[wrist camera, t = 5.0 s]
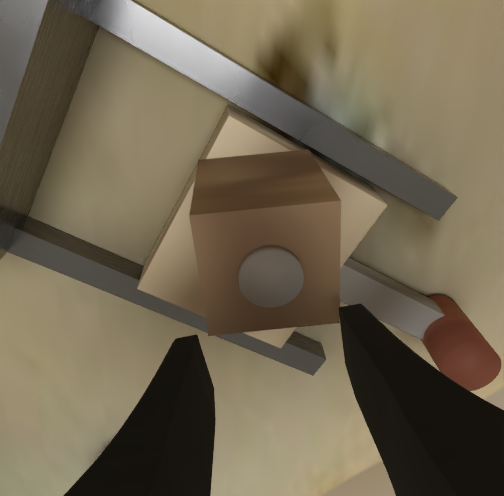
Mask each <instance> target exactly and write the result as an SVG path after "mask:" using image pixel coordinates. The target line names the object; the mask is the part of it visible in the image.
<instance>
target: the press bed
mask: <svg viewBox="0 0 504 496" xmlns="http://www.w3.org/2000/svg"><path fill="white" fill-rule="evenodd" d="M296 150H306V149H304V148H303V147H301V146H299V145H297V144H296V143H294V142H292V141H290V140H289V139H287V138H285V137H283V136H282V135H280V134H278V133H276V132H275V131H273V130H271V129H269V128H268V127H266V126H264V125H262V124H260V123H259V122H257V121H255V120H253V119H252V118H250V117H248V116H246V115H245V114H243V113H241V112H239V111H238V110H236V109H234V108H232V107H231V106H229V105H228V107H227V108H226V110H225V112H224V114H223V116H222V118H221V120H220V122H219V124H218V126H217V127H216V129H215V131H214V133H213V135H212V137H211V139H210V141H209V143H208V145H207V146H206V148H205V150H204V152H203V154H202V156H201V158H200V160H202V159H212V158H223V157H233V156H244V155H254V154H265V153H275V152H286V151H296ZM311 154H312V155H313V157H314V159H315V160H316V162H317V163H318V165H319V166H320V168H321V170H322V171H323V173H324V174H325V176H326V178H327V179H328V181H329V182H330V184H331V185H332V187H333V189H334V190H335V192H336V193H337V195H338V196H339V198H340V200H341V243H340V301H341V302H343V303H345V304H348V305H355V304H360V303H361V304H362V305H364V306H365V307H366V308H367V309H368V310H369V311H370V312H371V313H372V314H373V315H374V316H375V317H376V318H377V319H379V320H382V321H384V322H386V323H388V324H390V325H392V326H394V327H396V328H399V329H401V330H403V331H405V332H407V333H409V334H411V335H413V336H416V337H418V338H420V339H421V341H422V342H423V344H424V346H425V347H426V349H427V350H428V352H429V354H430V355H431V357H432V359H433V360H434V362H435V364H436V365H437V367H438V369H439V370H440V372H441V373H443V374H444V375H446V376H447V377H448V378H450V379H451V380H453V381H454V382H456V383H457V384H459V385H461V386H462V387H464V388H465V389H467V390H468V391H473V390H477V389H480V388H482V387H484V386H486V385H488V384H489V383H490V382H492V381H493V380H494V379H495V378H496V376H497V375H498V374H499V372H500V369H501V359H500V357H499V356H498V354H497V353H496V352H495V351H494V349H493V348H492V347H491V346H490V345H489V343H488V342H487V341H486V340H485V338H484V337H483V336H482V335H481V333H480V332H479V331H478V330H477V328H476V327H475V326H474V325H473V323H472V322H471V321H470V320H469V318H468V317H467V316H466V315H465V313H464V312H463V311H462V310H461V309H460V307H459V306H458V305H457V304H456V302H455V301H454V300H453V299H452V298H450V297H448V296H444V295H435V296H431V297H426V296H424V295H422V294H420V293H418V292H416V291H414V290H412V289H410V288H408V287H406V286H404V285H402V284H400V283H398V282H396V281H394V280H392V279H390V278H388V277H386V276H384V275H382V274H380V273H378V272H376V271H374V270H372V269H370V268H368V267H366V266H364V265H362V264H360V263H358V262H356V261H355V260H353V259H351V258H349V256H350V255H351V254H352V252H353V251H354V250H355V248H356V247H357V246H358V244H359V243H360V242H361V240H362V239H363V238H364V236H365V235H366V233H367V232H368V231H369V229H370V228H371V227H372V225H373V224H374V223H375V221H376V220H377V219H378V217H379V216H380V215H381V213H382V212H383V211H384V209H385V208H386V207H387V204H386V203H385V201H384V200H383V199H382V198H381V197H380V196H379V194H378V193H377V192H376V191H375V190H374V189H373V187H371V186H369V185H367V184H366V183H364V182H362V181H360V180H359V179H357V178H355V177H353V176H352V175H350V174H348V173H346V172H345V171H343V170H341V169H339V168H338V167H336V166H334V165H332V164H331V163H329V162H327V161H325V160H324V159H322V158H320V157H318V156H317V155H315V154H313V153H311ZM197 165H198V164H197ZM196 171H197V166H196V167H195V169H194V171H193V173H192V175H191V177H190V179H189V181H188V183H187V185H186V186H185V188H184V190H183V192H182V194H181V196H180V198H179V200H178V202H177V204H176V205H175V207H174V209H173V211H172V213H171V215H170V217H169V219H168V221H167V223H166V225H165V226H164V228H163V230H162V232H161V234H160V236H159V238H158V240H157V242H156V244H155V245H154V247H153V249H152V251H151V253H150V255H149V257H148V259H147V261H146V263H145V264H144V268H143V271H142V274H141V277H140V280H139V284H138V287H137V289H139V290H141V291H144V292H146V293H148V294H151V295H153V296H156V297H158V298H160V299H163V300H165V301H168V302H170V303H172V304H175V305H177V306H180V307H182V308H184V309H187V310H189V311H192V312H194V313H196V314H199V315H201V316H204V317H205V311H204V305H203V299H202V292H201V286H200V280H199V274H198V267H197V261H196V255H195V249H194V242H193V236H192V230H191V224H190V217H189V214H190V208H191V201H192V195H193V189H194V183H195V177H196ZM295 329H296V327H292V328H283V329H273V330H263V331H253V332H243V333H245V334H247V335H249V336H252V337H254V338H257V339H259V340H261V341H264V342H266V343H269V344H271V345H273V346H276V347H278V348H282V346H283V345H284V344H285V342H286V341H287V340H288V338H289V337H290V335H291V334H292V333H293V331H294V330H295Z"/></svg>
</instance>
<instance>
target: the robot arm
mask: <svg viewBox="0 0 504 496" xmlns="http://www.w3.org/2000/svg"><path fill="white" fill-rule="evenodd" d="M339 316H340V324H341V332H342V340H343V349H344V357H345V364H346V367H347V371H348V374H349V378H350V381H351V384H352V388H353V391H354V394H355V397H356V400H357V402H358V404H359V407H360V409H361V411H362V414H363V416H364V418H365V421H366V423H367V426H368V428H369V430H370V433H371V435H372V437H373V439H374V442H375V444H376V446H377V449H378V451H379V453H380V456H381V458H382V460H383V463H384V465H385V467H386V470H387V472H388V475H389V478H390V480H391V483H392V485H393V488H394V491H395V494H396V496H504V410H502V409H500V408H498V407H496V406H494V405H492V404H491V403H489V402H487V401H485V400H483V399H482V398H480V397H478V396H477V395H475V394H473V393H472V392H470V391H468V390H467V389H465V388H464V387H462V386H461V385H459V384H457V383H456V382H454V381H453V380H451V379H450V378H448V377H447V376H446V375H444V374H443V373H441V372H440V371H438V370H437V369H436V368H434V367H433V366H432V365H430V364H429V363H428V362H426V361H425V360H424V359H422V358H421V357H420V356H419V355H417V354H416V353H415V352H414V351H412V350H411V349H410V348H409V347H408V346H407V345H405V344H404V343H403V342H402V341H401V340H399V339H398V338H397V337H396V336H395V335H394V334H393V333H392V332H390V331H389V330H388V329H387V328H386V327H385V326H384V325H383V324H382V323H381V322H380V321H379V320H378V319H377V318H376V317H375V316H374V315H373V314H372V313H371V312H370V311H369V310H368V309H367V308H366V307H365V306H364V305H362V304H361V303H360V304H355V305H350V306H345V307H339ZM214 436H215V401H214V387H213V384H212V381H211V377H210V374H209V371H208V368H207V365H206V362H205V358H204V355H203V352H202V349H201V346H200V343H199V339H198V336H197V335H192V336H187V337H182V338H177V339H175V340H174V342H173V343H172V345H171V347H170V349H169V351H168V353H167V354H166V356H165V358H164V360H163V362H162V364H161V365H160V367H159V369H158V371H157V372H156V374H155V376H154V378H153V379H152V381H151V383H150V384H149V386H148V388H147V389H146V391H145V393H144V394H143V396H142V398H141V399H140V401H139V402H138V404H137V405H136V407H135V408H134V410H133V411H132V413H131V414H130V416H129V417H128V419H127V420H126V422H125V423H124V425H123V426H122V427H121V429H120V430H119V431H118V433H117V434H116V436H115V437H114V438H113V440H112V441H111V442H110V443H109V445H108V446H107V447H106V448H105V450H104V451H103V452H102V454H101V455H100V456H99V457H98V458H97V460H96V461H95V462H94V463H93V464H92V465H91V466H90V468H89V469H88V470H87V471H86V472H85V473H84V474H83V475H82V476H81V477H80V478H79V480H78V481H77V482H76V483H75V484H74V485H73V486H72V487H71V488H70V489H69V491H68V492H67V493H66V494H65V495H64V496H210V491H211V478H212V464H213V451H214Z"/></svg>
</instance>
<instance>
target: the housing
mask: <svg viewBox="0 0 504 496" xmlns="http://www.w3.org/2000/svg"><path fill="white" fill-rule="evenodd" d="M189 217H190V224H191V230H192V236H193V242H194V249H195V255H196V261H197V267H198V274H199V280H200V286H201V292H202V299H203V305H204V311H205V318H206V324H207V330H208V336H213V335H223V334H233V333H243V332H253V331H263V330H273V329H283V328H292V327H302V326H312V325H322V324H332V323H339V307H340V243H341V200H340V198H339V196H338V195H337V193H336V192H335V190H334V189H333V187H332V185H331V184H330V182H329V181H328V179H327V178H326V176H325V174H324V173H323V171H322V170H321V168H320V166H319V165H318V163H317V162H316V160H315V159H314V157H313V155H312V154H311V152H310V151H309V149H306V150H296V151H286V152H275V153H265V154H254V155H244V156H233V157H223V158H212V159H202V160H198V165H197V171H196V177H195V183H194V189H193V195H192V201H191V208H190V214H189Z"/></svg>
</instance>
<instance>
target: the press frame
mask: <svg viewBox="0 0 504 496" xmlns="http://www.w3.org/2000/svg"><path fill="white" fill-rule="evenodd" d="M99 26H101V27H102V28H104V29H106V30H108V31H109V32H111V33H113V34H115V35H116V36H118V37H120V38H122V39H123V40H125V41H127V42H129V43H130V44H132V45H134V46H136V47H137V48H139V49H141V50H143V51H144V52H146V53H148V54H149V55H151V56H153V57H155V58H156V59H158V60H160V61H162V62H163V63H165V64H167V65H169V66H170V67H172V68H174V69H176V70H177V71H179V72H181V73H183V74H184V75H186V76H188V77H190V78H191V79H193V80H195V81H196V82H198V83H200V84H202V85H203V86H205V87H207V88H209V89H210V90H212V91H214V92H216V93H217V94H219V95H221V96H223V97H224V98H226V99H228V100H230V101H231V102H233V103H235V104H237V105H238V106H240V107H242V108H243V109H245V110H247V111H249V112H250V113H252V114H254V115H256V116H257V117H259V118H261V119H263V120H264V121H266V122H268V123H270V124H271V125H273V126H275V127H277V128H278V129H280V130H282V131H284V132H285V133H287V134H289V135H290V136H292V137H294V138H296V139H297V140H299V141H301V142H303V143H304V144H306V145H308V146H310V147H311V148H313V149H315V150H317V151H318V152H320V153H322V154H324V155H325V156H327V157H329V158H331V159H332V160H334V161H336V162H337V163H339V164H341V165H343V166H344V167H346V168H348V169H350V170H351V171H353V172H355V173H357V174H358V175H360V176H362V177H364V178H365V179H367V180H369V181H371V182H372V183H374V184H376V185H378V186H379V187H381V188H383V189H384V190H386V191H388V192H390V193H391V194H393V195H395V196H397V197H398V198H400V199H402V200H404V201H405V202H407V203H409V204H411V205H412V206H414V207H416V208H418V209H419V210H421V211H423V212H425V213H426V214H428V215H430V216H431V217H433V218H435V219H437V220H438V221H439V220H440V218H441V217H442V216H443V215H444V214H445V212H446V211H447V210H448V209H449V207H450V206H451V205H452V204H453V202H454V201H455V200H456V199H457V197H456V196H455V195H454V194H453V193H451V192H450V191H449V190H447V189H446V188H445V187H443V186H442V185H440V184H438V183H437V182H435V181H433V180H432V179H430V178H428V177H427V176H425V175H423V174H422V173H420V172H418V171H417V170H415V169H413V168H412V167H410V166H408V165H407V164H405V163H404V162H402V161H400V160H399V159H397V158H395V157H394V156H392V155H390V154H389V153H387V152H385V151H384V150H382V149H380V148H379V147H377V146H375V145H374V144H372V143H370V142H369V141H367V140H366V139H364V138H362V137H361V136H359V135H357V134H356V133H354V132H352V131H351V130H349V129H347V128H346V127H344V126H342V125H341V124H339V123H337V122H336V121H334V120H332V119H331V118H329V117H327V116H326V115H324V114H323V113H321V112H319V111H318V110H316V109H314V108H313V107H311V106H309V105H308V104H306V103H304V102H303V101H301V100H299V99H298V98H296V97H294V96H293V95H291V94H289V93H288V92H286V91H284V90H283V89H281V88H280V87H278V86H276V85H275V84H273V83H271V82H270V81H268V80H266V79H265V78H263V77H261V76H260V75H258V74H256V73H255V72H253V71H251V70H250V69H248V68H246V67H245V66H243V65H241V64H240V63H238V62H237V61H235V60H233V59H232V58H230V57H228V56H227V55H225V54H223V53H222V52H220V51H218V50H217V49H215V48H213V47H212V46H210V45H208V44H207V43H205V42H203V41H202V40H200V39H198V38H197V37H195V36H194V35H192V34H190V33H189V32H187V31H185V30H184V29H182V28H180V27H179V26H177V25H175V24H174V23H172V22H170V21H169V20H167V19H165V18H164V17H162V16H160V15H159V14H157V13H156V12H154V11H152V10H151V9H149V8H147V7H146V6H144V5H142V4H141V3H139V2H137V1H136V0H0V259H1V258H2V257H3V256H4V255H5V254H6V253H7V252H10V253H12V254H15V255H17V256H20V257H22V258H24V259H27V260H29V261H32V262H34V263H37V264H39V265H42V266H44V267H47V268H49V269H52V270H54V271H57V272H59V273H61V274H64V275H66V276H69V277H71V278H74V279H76V280H79V281H81V282H84V283H86V284H89V285H91V286H94V287H96V288H98V289H101V290H103V291H106V292H108V293H111V294H113V295H116V296H118V297H121V298H123V299H126V300H128V301H130V302H133V303H135V304H138V305H140V306H143V307H145V308H148V309H150V310H153V311H155V312H158V313H160V314H163V315H165V316H167V317H170V318H172V319H175V320H177V321H180V322H182V323H185V324H187V325H190V326H192V327H195V328H197V329H200V330H202V331H204V332H207V333H208V330H207V324H206V318H205V317H204V316H201V315H199V314H196V313H194V312H192V311H189V310H187V309H184V308H182V307H180V306H177V305H175V304H172V303H170V302H168V301H165V300H163V299H160V298H158V297H156V296H153V295H151V294H148V293H146V292H144V291H141V290H139V289H137V287H138V284H139V280H140V277H141V274H142V271H143V268H144V267H143V266H141V265H138V264H136V263H134V262H131V261H129V260H127V259H124V258H122V257H120V256H117V255H115V254H113V253H111V252H108V251H106V250H104V249H101V248H99V247H97V246H94V245H92V244H90V243H87V242H85V241H83V240H80V239H78V238H76V237H74V236H71V235H69V234H67V233H64V232H62V231H60V230H57V229H55V228H53V227H50V226H48V225H46V224H43V223H41V222H39V221H36V220H34V219H32V218H30V217H27V216H28V213H29V211H30V208H31V205H32V203H33V200H34V197H35V195H36V192H37V190H38V187H39V184H40V182H41V179H42V176H43V174H44V171H45V168H46V166H47V163H48V160H49V158H50V155H51V152H52V150H53V147H54V144H55V142H56V139H57V136H58V134H59V131H60V128H61V126H62V123H63V120H64V118H65V115H66V112H67V110H68V107H69V104H70V102H71V99H72V96H73V94H74V91H75V88H76V86H77V83H78V81H79V78H80V75H81V73H82V70H83V67H84V65H85V62H86V59H87V57H88V54H89V51H90V49H91V46H92V43H93V41H94V38H95V35H96V33H97V30H98V27H99ZM214 336H217V337H219V338H222V339H224V340H227V341H229V342H232V343H234V344H237V345H239V346H241V347H244V348H246V349H249V350H251V351H254V352H256V353H259V354H261V355H264V356H266V357H269V358H271V359H273V360H276V361H278V362H281V363H283V364H286V365H288V366H291V367H293V368H296V369H298V370H301V371H303V372H306V373H308V374H310V375H314V374H315V373H316V371H317V370H318V369H319V368H320V366H321V365H322V364H323V363H324V361H325V360H326V357H325V354H324V350H323V347H322V344H321V343H319V342H317V341H314V340H312V339H310V338H307V337H305V336H303V335H300V334H298V333H296V332H293V333H292V334H291V335H290V337H289V338H288V340H287V341H286V342H285V344H284V345H283V346H282V348H278V347H276V346H273V345H271V344H269V343H266V342H264V341H261V340H259V339H257V338H254V337H252V336H249V335H247V334H245V333H233V334H223V335H214Z"/></svg>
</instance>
